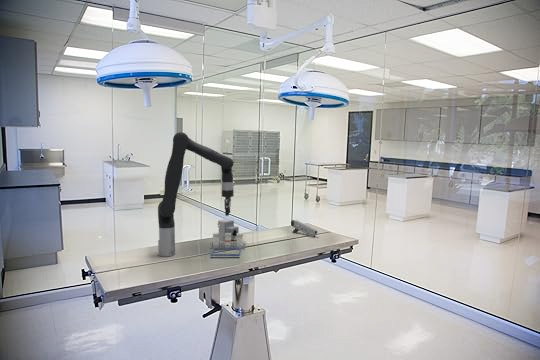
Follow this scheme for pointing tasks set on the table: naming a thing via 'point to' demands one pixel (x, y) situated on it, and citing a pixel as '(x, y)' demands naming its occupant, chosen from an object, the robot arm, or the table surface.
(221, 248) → the tray
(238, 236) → the right fuse
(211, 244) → the fuse holder
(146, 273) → the table surface
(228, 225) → the circuit breaker
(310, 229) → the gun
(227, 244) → the block
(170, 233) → the robot arm
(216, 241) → the left fuse
